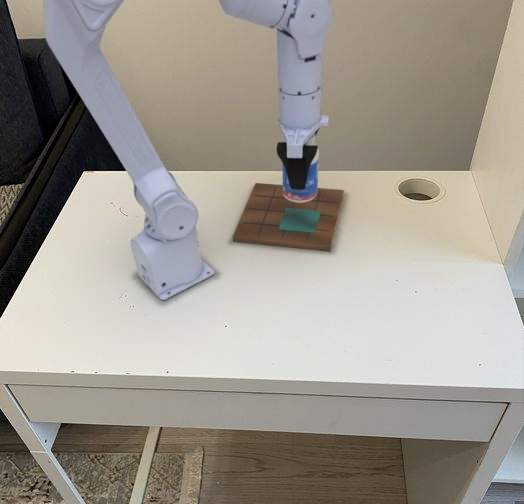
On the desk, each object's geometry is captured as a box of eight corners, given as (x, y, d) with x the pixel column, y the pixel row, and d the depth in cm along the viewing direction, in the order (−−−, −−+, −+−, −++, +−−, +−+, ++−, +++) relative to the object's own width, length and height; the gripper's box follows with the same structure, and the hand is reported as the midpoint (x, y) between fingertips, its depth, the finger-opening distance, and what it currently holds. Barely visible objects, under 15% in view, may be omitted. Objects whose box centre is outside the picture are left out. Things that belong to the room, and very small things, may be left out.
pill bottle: (283, 204, 83) (281, 144, 76) (282, 185, 87) (280, 126, 80) (319, 202, 83) (321, 142, 76) (316, 183, 87) (318, 124, 79)
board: (330, 251, 86) (330, 246, 85) (233, 241, 89) (232, 236, 88) (343, 194, 96) (344, 189, 95) (255, 187, 99) (255, 182, 98)
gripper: (326, 111, 67) (322, 206, 78) (333, 63, 77) (329, 153, 87) (269, 111, 68) (273, 204, 79) (283, 63, 78) (285, 152, 88)
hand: (299, 177), depth 83 cm, fingers closed on pill bottle, 5 cm apart
